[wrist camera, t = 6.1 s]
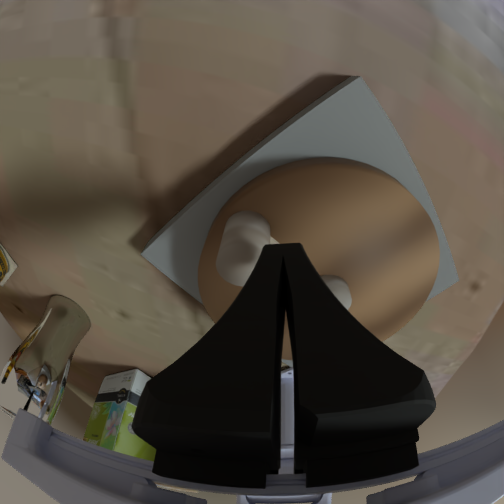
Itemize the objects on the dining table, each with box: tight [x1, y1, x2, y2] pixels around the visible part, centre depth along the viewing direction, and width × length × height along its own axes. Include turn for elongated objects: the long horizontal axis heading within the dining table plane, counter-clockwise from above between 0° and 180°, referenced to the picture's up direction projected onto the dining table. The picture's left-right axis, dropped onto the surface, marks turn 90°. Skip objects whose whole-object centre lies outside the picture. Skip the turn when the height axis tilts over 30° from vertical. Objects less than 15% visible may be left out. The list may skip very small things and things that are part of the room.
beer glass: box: [0, 295, 91, 425], centre depth 21 cm, size 7×7×15 cm
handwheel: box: [198, 157, 440, 360], centre depth 17 cm, size 16×16×5 cm
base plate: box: [141, 76, 459, 367], centre depth 20 cm, size 18×18×2 cm
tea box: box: [83, 369, 198, 493], centre depth 32 cm, size 15×10×15 cm, turn 34°
